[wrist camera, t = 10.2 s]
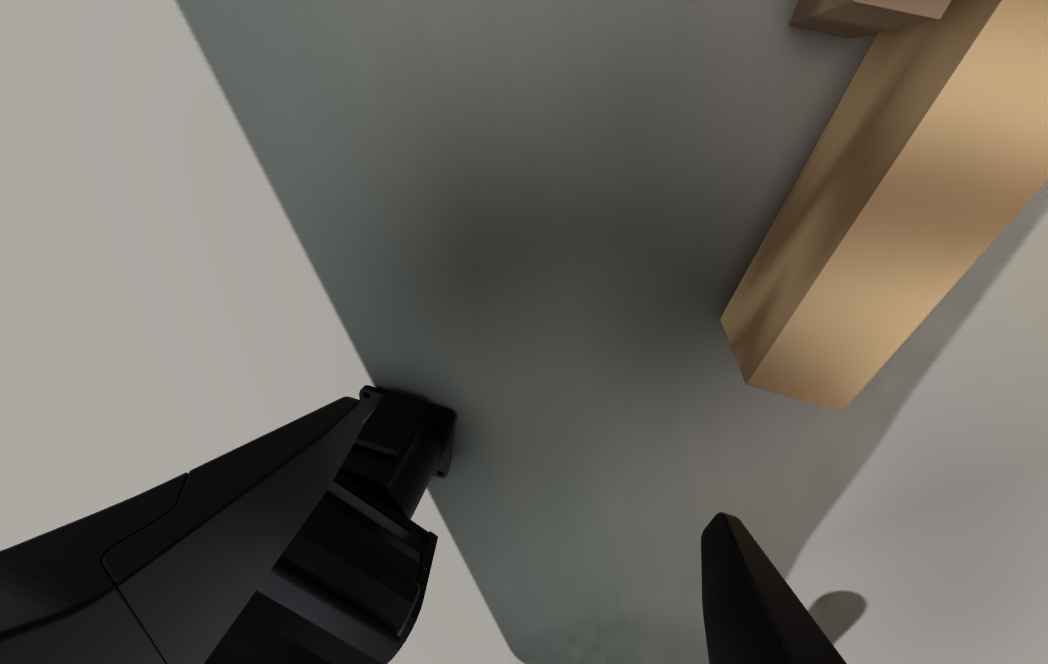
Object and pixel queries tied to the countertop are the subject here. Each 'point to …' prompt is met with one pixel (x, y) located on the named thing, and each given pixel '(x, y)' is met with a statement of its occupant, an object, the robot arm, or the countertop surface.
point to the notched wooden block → (865, 15)
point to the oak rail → (896, 199)
